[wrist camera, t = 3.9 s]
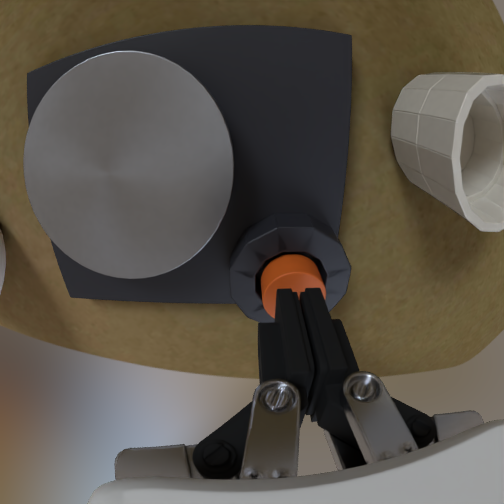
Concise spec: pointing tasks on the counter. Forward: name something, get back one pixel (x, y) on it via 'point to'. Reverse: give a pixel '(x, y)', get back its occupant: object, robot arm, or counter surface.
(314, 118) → the scale
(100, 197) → the brushed metal disc
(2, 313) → the counter surface
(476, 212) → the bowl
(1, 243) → the white knot sculpture
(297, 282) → the tare button
